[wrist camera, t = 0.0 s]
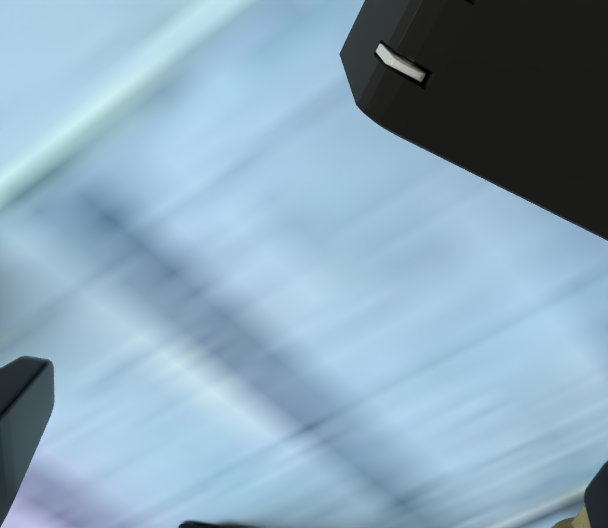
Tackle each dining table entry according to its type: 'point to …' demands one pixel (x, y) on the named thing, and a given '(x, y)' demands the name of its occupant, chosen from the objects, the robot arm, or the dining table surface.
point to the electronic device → (495, 92)
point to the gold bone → (575, 521)
